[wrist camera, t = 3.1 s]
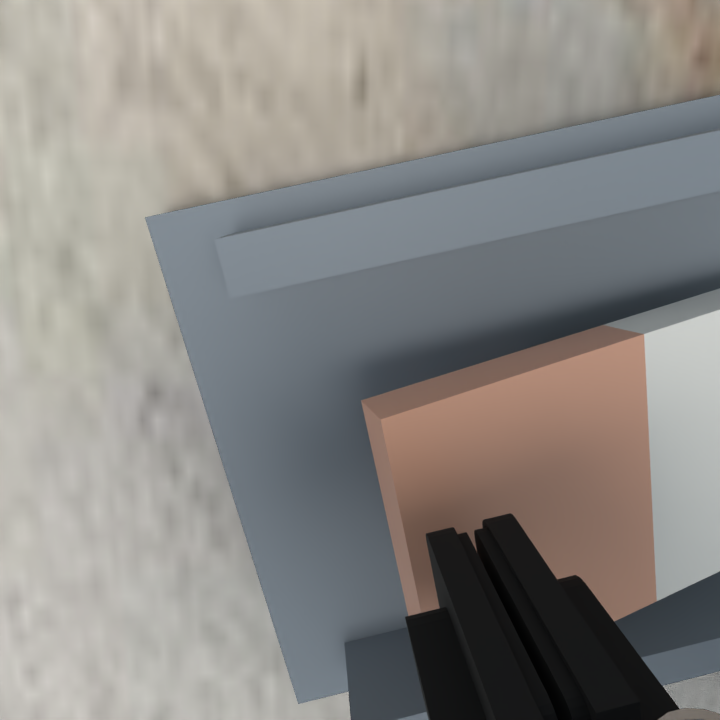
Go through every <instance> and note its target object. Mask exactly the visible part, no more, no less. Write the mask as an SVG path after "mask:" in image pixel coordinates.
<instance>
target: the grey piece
mask: <svg viewBox="0 0 720 720" xmlns="http://www.w3.org/2000/svg"><path fill="white" fill-rule="evenodd" d="M145 219H146V222H147V225H148V228H149V232H150V235H151V238H152V241H153V244H154V247H155V251H156V254H157V257H158V260H159V263H160V267H161V270H162V273H163V276H164V279H165V282H166V286H167V289H168V292H169V295H170V298H171V301H172V305H173V308H174V311H175V314H176V317H177V320H178V324H179V327H180V330H181V333H182V336H183V339H184V343H185V346H186V349H187V352H188V355H189V358H190V362H191V365H192V368H193V371H194V374H195V378H196V381H197V384H198V387H199V390H200V393H201V397H202V400H203V403H204V406H205V409H206V412H207V416H208V419H209V422H210V425H211V428H212V431H213V435H214V438H215V441H216V444H217V447H218V450H219V454H220V457H221V460H222V463H223V466H224V470H225V473H226V476H227V479H228V482H229V485H230V489H231V492H232V495H233V498H234V501H235V504H236V508H237V511H238V514H239V517H240V520H241V523H242V527H243V530H244V533H245V536H246V539H247V542H248V546H249V549H250V552H251V555H252V558H253V562H254V565H255V568H256V571H257V574H258V577H259V581H260V584H261V587H262V590H263V593H264V596H265V600H266V603H267V606H268V609H269V612H270V615H271V619H272V622H273V625H274V628H275V631H276V634H277V638H278V641H279V644H280V647H281V650H282V654H283V657H284V660H285V663H286V666H287V669H288V673H289V676H290V679H291V682H292V685H293V688H294V692H295V695H296V698H297V701H298V704H300V703H304V702H308V701H312V700H316V699H320V698H324V697H328V696H332V695H336V694H340V693H344V692H348V691H349V702H350V714H351V720H428V715H427V711H426V707H425V703H424V699H423V695H422V690H421V686H420V682H419V678H418V673H417V669H416V665H415V660H414V656H413V651H412V647H411V643H410V638H409V634H408V629H407V624H406V620H405V617H406V616H408V612H407V607H406V603H405V598H404V594H403V589H402V585H401V580H400V576H399V571H398V566H397V562H396V557H395V553H394V548H393V544H392V539H391V535H390V530H389V526H388V521H387V516H386V512H385V507H384V503H383V498H382V494H381V489H380V485H379V480H378V475H377V471H376V466H375V462H374V457H373V453H372V448H371V444H370V439H369V435H368V430H367V425H366V421H365V416H364V412H363V407H362V403H361V400H364V399H367V398H370V397H373V396H377V395H380V394H383V393H386V392H389V391H393V390H396V389H399V388H402V387H405V386H409V385H412V384H415V383H418V382H422V381H425V380H428V379H431V378H434V377H438V376H441V375H444V374H447V373H450V372H454V371H457V370H460V369H463V368H466V367H470V366H473V365H476V364H479V363H482V362H486V361H489V360H492V359H495V358H498V357H502V356H505V355H508V354H511V353H514V352H518V351H521V350H524V349H527V348H530V347H534V346H537V345H540V344H543V343H546V342H550V341H553V340H556V339H559V338H562V337H566V336H569V335H572V334H575V333H578V332H582V331H585V330H588V329H591V328H595V327H598V326H601V325H604V324H607V323H611V322H614V321H617V320H620V319H623V318H627V317H630V316H633V315H636V314H639V313H643V312H646V311H649V310H652V309H655V308H659V307H662V306H665V305H668V304H671V303H675V302H678V301H681V300H684V299H687V298H691V297H694V296H697V295H700V294H703V293H707V292H710V291H713V290H716V289H719V288H720V95H717V96H712V97H707V98H703V99H698V100H693V101H688V102H684V103H679V104H674V105H670V106H665V107H660V108H656V109H651V110H646V111H642V112H637V113H632V114H628V115H623V116H618V117H613V118H609V119H604V120H599V121H595V122H590V123H585V124H581V125H576V126H571V127H567V128H562V129H557V130H553V131H548V132H543V133H538V134H534V135H529V136H524V137H520V138H515V139H510V140H506V141H501V142H496V143H492V144H487V145H482V146H478V147H473V148H468V149H463V150H459V151H454V152H449V153H445V154H440V155H435V156H431V157H426V158H421V159H417V160H412V161H407V162H402V163H398V164H393V165H388V166H384V167H379V168H374V169H370V170H365V171H360V172H356V173H351V174H346V175H342V176H337V177H332V178H327V179H323V180H318V181H313V182H309V183H304V184H299V185H295V186H290V187H285V188H281V189H276V190H271V191H267V192H262V193H257V194H252V195H248V196H243V197H238V198H234V199H229V200H224V201H220V202H215V203H210V204H206V205H201V206H196V207H192V208H187V209H182V210H177V211H173V212H168V213H163V214H159V215H154V216H149V217H145ZM614 622H615V623H616V625H617V626H618V627H619V629H620V630H621V631H622V633H623V634H624V635H625V637H626V638H627V639H628V641H629V642H630V643H631V645H632V646H633V647H634V649H635V650H636V652H637V653H638V654H639V656H640V657H641V658H642V660H643V661H644V662H645V664H646V665H647V666H648V668H649V669H650V670H651V672H652V673H653V674H654V676H655V677H656V678H657V680H658V681H659V682H660V684H661V685H662V686H663V685H667V684H671V683H675V682H679V681H683V680H687V679H690V678H694V677H698V676H702V675H706V674H710V673H714V672H718V671H720V571H719V572H717V573H715V574H713V575H711V576H709V577H707V578H705V579H703V580H700V581H698V582H696V583H694V584H692V585H690V586H688V587H686V588H684V589H682V590H679V591H677V592H675V593H673V594H671V595H669V596H667V597H665V598H663V599H661V600H658V601H656V602H654V603H652V604H650V605H648V606H646V607H644V608H642V609H639V610H637V611H635V612H633V613H631V614H629V615H627V616H625V617H623V618H621V619H618V620H616V621H614Z"/></svg>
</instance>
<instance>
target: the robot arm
mask: <svg viewBox="0 0 720 720" xmlns="http://www.w3.org/2000/svg"><path fill="white" fill-rule="evenodd" d="M482 526H483V528H481V529H477V530H475V531H474V536H475V542H476V549H477V551H476V549H475V547H474V545H473V543H472V541H471V539H470V537H469V535H468V534H467V532H464V533H460V534H457V532H456V530H455V529H454V527H451V528H447V529H443V530H438V531H434V532H430V533H426V541H427V546H428V552H429V557H430V562H431V567H432V572H433V577H434V582H435V587H436V592H437V597H438V602H439V607H440V608H439V609H435V610H431V611H427V612H423V613H419V614H415V615H410V616H406V617H405V620H406V624H407V629H408V634H409V638H410V643H411V647H412V651H413V656H414V660H415V665H416V669H417V673H418V678H419V682H420V686H421V690H422V695H423V699H424V703H425V707H426V711H427V715H428V720H720V714H719V713H716V712H712V711H709V710H705V709H692V708H683V709H679V708H678V706H677V705H676V704H675V702H674V701H673V700H672V698H671V697H670V696H669V694H668V693H667V692H666V690H665V689H664V688H663V686H662V685H661V684H660V682H659V681H658V680H657V678H656V677H655V676H654V674H653V673H652V672H651V670H650V669H649V668H648V666H647V665H646V664H645V662H644V661H643V660H642V658H641V657H640V656H639V654H638V653H637V652H636V650H635V649H634V647H633V646H632V645H631V643H630V642H629V641H628V639H627V638H626V637H625V635H624V634H623V633H622V631H621V630H620V629H619V627H618V626H617V625H616V623H615V622H614V621H613V619H612V618H611V617H610V615H609V614H608V613H607V611H606V610H605V609H604V607H603V606H602V605H601V603H600V602H599V601H598V599H597V598H596V597H595V595H594V594H593V593H592V591H591V590H590V589H589V587H588V586H587V585H586V583H585V582H584V581H583V580H582V579H581V578H580V577H579V576H577V575H573V576H569V577H565V578H561V579H557V578H556V577H555V576H554V574H553V573H552V571H551V570H550V568H549V567H548V565H547V564H546V562H545V561H544V559H543V558H542V556H541V555H540V553H539V552H538V550H537V549H536V547H535V546H534V545H533V543H532V542H531V540H530V539H529V537H528V536H527V534H526V533H525V531H524V530H523V528H522V527H521V525H520V524H519V522H518V521H517V519H516V518H515V517H514V515H513V514H511V513H509V514H505V515H501V516H497V517H492V518H488V519H484V520H483V521H482Z"/></svg>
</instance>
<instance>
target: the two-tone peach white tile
mask: <svg viewBox="0 0 720 720" xmlns="http://www.w3.org/2000/svg"><path fill="white" fill-rule="evenodd" d="M361 403H362V407H363V412H364V416H365V421H366V425H367V430H368V435H369V439H370V444H371V448H372V453H373V457H374V462H375V466H376V471H377V475H378V480H379V485H380V489H381V494H382V498H383V503H384V507H385V512H386V516H387V521H388V526H389V530H390V535H391V539H392V544H393V548H394V553H395V557H396V562H397V566H398V571H399V576H400V580H401V585H402V589H403V594H404V598H405V603H406V607H407V612H408V616H410V615H415V614H419V613H423V612H427V611H431V610H435V609H439V608H440V607H439V602H438V597H437V592H436V587H435V582H434V577H433V572H432V567H431V562H430V557H429V552H428V546H427V541H426V533H430V532H434V531H438V530H443V529H447V528H451V527H454V529H455V530H456V532H457V534H460V533H464V532H467V534H468V535H469V537H470V539H471V541H472V543H473V545H474V547H475V549H476V542H475V536H474V531H475V530H477V529H481V528H483V526H482V521H483V520H484V519H488V518H492V517H497V516H501V515H505V514H509V513H511V514H513V515H514V517H515V518H516V519H517V521H518V522H519V524H520V525H521V527H522V528H523V530H524V531H525V533H526V534H527V536H528V537H529V539H530V540H531V542H532V543H533V545H534V546H535V547H536V549H537V550H538V552H539V553H540V555H541V556H542V558H543V559H544V561H545V562H546V564H547V565H548V567H549V568H550V570H551V571H552V573H553V574H554V576H555V577H556V578H557V579H561V578H565V577H569V576H573V575H577V576H579V577H580V578H581V579H582V580H583V581H584V582H585V583H586V585H587V586H588V587H589V589H590V590H591V591H592V593H593V594H594V595H595V597H596V598H597V599H598V601H599V602H600V603H601V605H602V606H603V607H604V609H605V610H606V611H607V613H608V614H609V615H610V617H611V618H612V619H613V621H616V620H618V619H621V618H623V617H625V616H627V615H629V614H631V613H633V612H635V611H637V610H639V609H642V608H644V607H646V606H648V605H650V604H652V603H654V602H656V601H658V600H661V599H663V598H665V597H667V596H669V595H671V594H673V593H675V592H677V591H679V590H682V589H684V588H686V587H688V586H690V585H692V584H694V583H696V582H698V581H700V580H703V579H705V578H707V577H709V576H711V575H713V574H715V573H717V572H719V571H720V288H719V289H716V290H713V291H710V292H707V293H703V294H700V295H697V296H694V297H691V298H687V299H684V300H681V301H678V302H675V303H671V304H668V305H665V306H662V307H659V308H655V309H652V310H649V311H646V312H643V313H639V314H636V315H633V316H630V317H627V318H623V319H620V320H617V321H614V322H611V323H607V324H604V325H601V326H598V327H595V328H591V329H588V330H585V331H582V332H578V333H575V334H572V335H569V336H566V337H562V338H559V339H556V340H553V341H550V342H546V343H543V344H540V345H537V346H534V347H530V348H527V349H524V350H521V351H518V352H514V353H511V354H508V355H505V356H502V357H498V358H495V359H492V360H489V361H486V362H482V363H479V364H476V365H473V366H470V367H466V368H463V369H460V370H457V371H454V372H450V373H447V374H444V375H441V376H438V377H434V378H431V379H428V380H425V381H422V382H418V383H415V384H412V385H409V386H405V387H402V388H399V389H396V390H393V391H389V392H386V393H383V394H380V395H377V396H373V397H370V398H367V399H364V400H361ZM476 551H477V549H476Z"/></svg>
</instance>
